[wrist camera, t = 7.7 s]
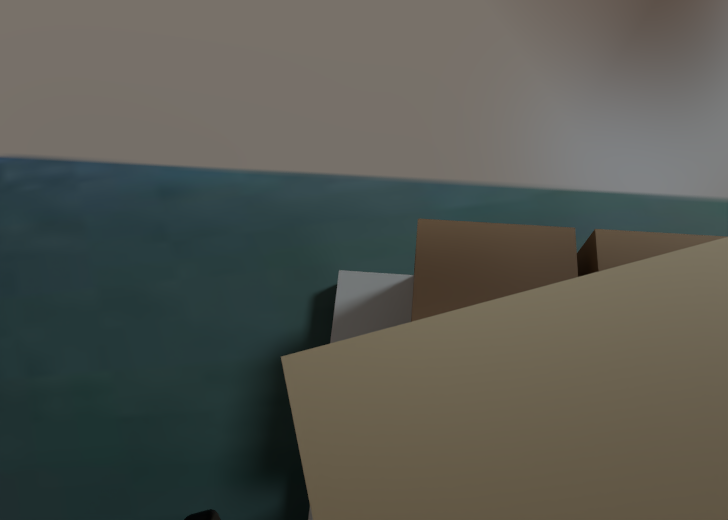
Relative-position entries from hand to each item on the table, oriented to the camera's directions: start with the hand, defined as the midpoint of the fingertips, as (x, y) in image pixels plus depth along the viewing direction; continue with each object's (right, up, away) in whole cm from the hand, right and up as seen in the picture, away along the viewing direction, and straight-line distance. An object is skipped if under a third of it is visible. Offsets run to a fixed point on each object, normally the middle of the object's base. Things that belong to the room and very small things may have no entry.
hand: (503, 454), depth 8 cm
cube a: (+1, +1, +8) cm, 9 cm away
